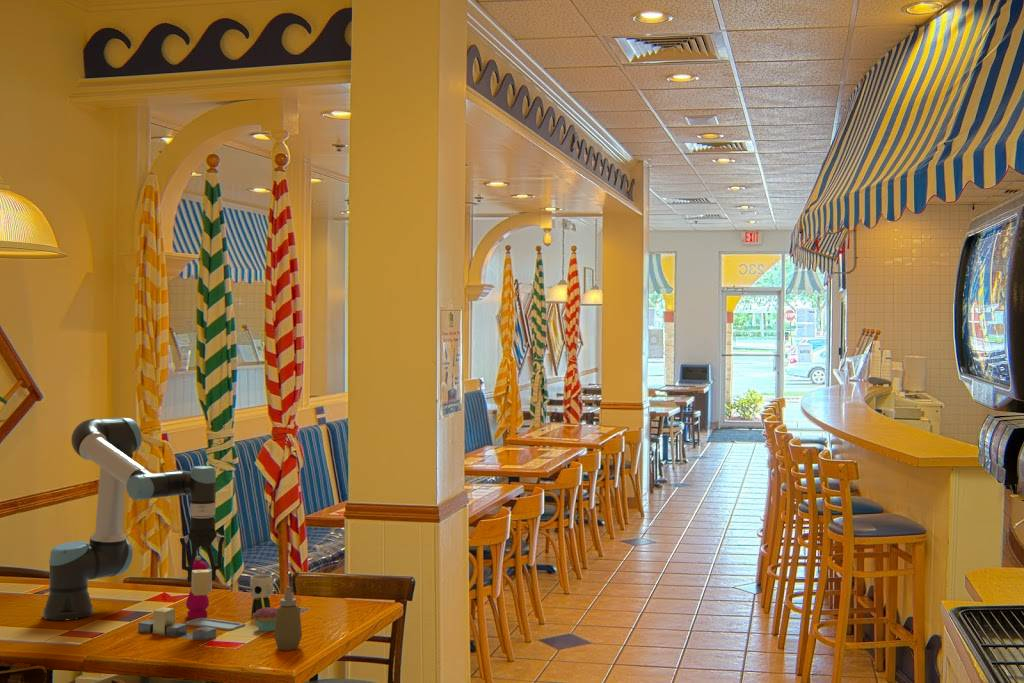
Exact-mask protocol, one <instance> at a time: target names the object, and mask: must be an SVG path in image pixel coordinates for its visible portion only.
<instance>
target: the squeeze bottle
mask: <svg viewBox="0 0 1024 683" xmlns="http://www.w3.org/2000/svg"><path fill="white" fill-rule="evenodd" d="M279 601H280V606H278V607H277V608H276V609H277V614H276V623H275V630H274V632H273V634H274V635H273V637H274V641H275V643H276V647H277V649H278V650H280V651H292V650H296V649H298V648H299V645H300V643H301V640H302V637H303V634H302V633H303V631H302V622H301V611H300V610H301V609H300V606H298V605H297V598H295V597H294V596H293V593H292V588H291V586H288V585H287V586H285V592H284V596H283V598H281V599H280V600H279Z"/></svg>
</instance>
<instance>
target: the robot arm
mask: <svg viewBox="0 0 1024 683" xmlns="http://www.w3.org/2000/svg"><path fill="white" fill-rule="evenodd" d="M142 442H143V438H142V432H141V429H140V427H139V424H138V422H136V421H135V420H134V419H133V418H129V417H119V416H118V417H108V418H89V419H86V420H83V421H82V422H80V423H79V424H78V425H77V426H76V427H75V428H74V430H73V431H72V434H71V446H72V449H73V450H74V452H75V453H76V454H77V455H78V456H79V457H81V458H82V459H83V460H85V461H92V462H93V463H95V464H96V465H97V466H99V478H98V480H99V481H98V492H97V503H96V506H97V507H96V515H95V516H96V517H95V527H94V528H95V530H94V533H92V534H91V535H90V536H89V542H87V541H84V540H76V541H70V542H69V541H68V542H64V543H61V544H58V545H55V546H54V547H53V548H52V549H51V550H50V554H49V561H48V564H49V589H48V590H49V591H48V593H49V594H48V596H47V600H46V603H45V607H44V608H43V611H42V617H44V618H46V619H45V620H47V619H53V620H52V621H55V620H64V621H67V620H66V619H75V620H77V619H76V618H81V617H85V618H87V617H86V616H88V617H90V616H89V615H91V614H92V613H93V614H94V605H93V604H92V600H91V597H90V594H89V590H88V589H89V585H88V584H89V580H97V579H102V578H108V577H110V578H111V577H115V576H118V575H121V574H124V573H125V572H126V571H128V569H129V568H130V566H131V564H132V562H133V555H134V554H133V548H132V544H131V542H130V541H128V540H127V535H126V534H124V533H123V525H124V514H125V513H124V511H125V499H126V498H125V497H126V493H127V494H128V497H129V498H130V499H132V500H137V501H139V500H141V501H145V500H149V499H156V498H165V497H175V496H188V497H189V496H190V500H189V501H190V505H189V506H190V507H189V510H190V512H189V514H190V516H191V517H190V519H189V533H188V534H187V535H185V536H180V538H179V542H180V544H181V569H182V571H183V570H184V571H186V572H187V582H188V583H189V582H190V584H191V586H190V590H191V593H194V571H195V570H192V568H193V564H194V561H196V560H195V558H196V556H197V551H198V549H199V548H200V547H204V548H206V551H207V554H208V559H209V560H208V561H209V563H210V568H211V569H210V570H209V593H212V591H213V582H215V581H216V579H217V578H216V576H217V570H218V569H221V568H222V567H223V545H224V541H225V535H220V534H218V533H217V531H216V517H215V515H216V505H217V504H216V492H217V489H216V488H217V476H216V474H217V473H216V472H217V471H216V468H215V467H214V466H211V465H197V466H196V465H195V466H192V467H191V469H190V471H188V470H183V469H172V470H170V471H168V472H167V471H166V472H156V473H155V472H154V473H153V472H151V471H149V470H148V469H147V468H145V467H144V466H142V465H141V464H139V462H137V461H135V460H134V459H133V458H134V453H135V452H136V451H138V450H139V449H140V447H141V446H142ZM215 539H216V542H217V543H218V545H217V564H216V561H215V557H214V552H213V548H212V543H213V542H214V541H215ZM189 540H190V541H191V543H192V545H193V547H192V552H191V556H190V560H189V564H188V565H187V543H188V542H189ZM93 614H92V615H93ZM92 615H91V616H92ZM44 618H43V619H44ZM81 619H82V618H81Z"/></svg>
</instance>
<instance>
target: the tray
mask: <svg viewBox="0 0 1024 683" xmlns="http://www.w3.org/2000/svg"><path fill="white" fill-rule="evenodd" d="M184 624H187V626H194V627H199V628H202V627H209V628H216V630H223V631H230V632H231V631H234V630H236V629H239V628H242V627H245V626H246V623H245V622H244V623H242V622H238V621H235V622H234V621H229V620H220V619H214V618H208V617H206V618H203V617H202V618H193V619H191V620H188V621H185V622H184Z"/></svg>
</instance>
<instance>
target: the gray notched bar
mask: <svg viewBox="0 0 1024 683" xmlns="http://www.w3.org/2000/svg"><path fill="white" fill-rule="evenodd" d="M137 632H140V633H146V634H153V635H156V634H155V633H153V618H152V619H150V618H149V619H146V620H142V621H140V622H138V624H137ZM158 635H161V636H163V635H162V634H158ZM165 636H167V637H173V638H174V637H175V638H181V639H188V640H196V641H201V642H207V641H210V640H213V639H215V638H216V637H217V629H216V628H209V627H198V628H196V629H192V633H190V632H188V625H187V624H185V623H175V624H174V625H171V626H168V627H167V634H166V635H165Z"/></svg>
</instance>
